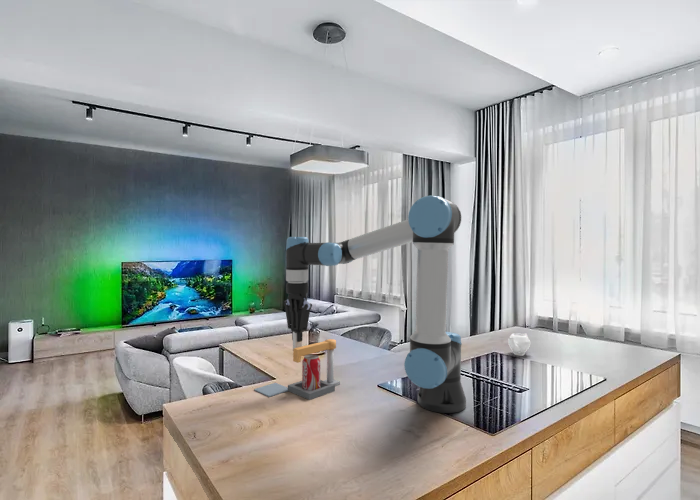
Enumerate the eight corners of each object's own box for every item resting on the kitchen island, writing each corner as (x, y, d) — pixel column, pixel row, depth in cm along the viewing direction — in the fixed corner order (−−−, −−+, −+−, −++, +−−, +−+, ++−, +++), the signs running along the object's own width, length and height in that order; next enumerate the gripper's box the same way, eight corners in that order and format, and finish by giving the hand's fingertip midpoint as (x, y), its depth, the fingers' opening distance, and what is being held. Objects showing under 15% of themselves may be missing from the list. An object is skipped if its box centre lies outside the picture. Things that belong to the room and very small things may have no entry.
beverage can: (317, 395, 137) (317, 359, 137) (299, 393, 139) (299, 358, 138) (322, 388, 144) (322, 354, 143) (305, 387, 145) (305, 353, 144)
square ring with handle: (346, 386, 145) (346, 350, 145) (309, 400, 133) (309, 360, 133) (324, 378, 153) (324, 345, 153) (287, 390, 141) (287, 354, 141)
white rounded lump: (537, 352, 193) (538, 332, 193) (520, 360, 179) (520, 339, 178) (517, 348, 200) (517, 329, 199) (499, 356, 185) (499, 336, 185)
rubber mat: (291, 390, 142) (291, 388, 142) (269, 397, 135) (269, 395, 135) (275, 383, 148) (275, 382, 148) (254, 390, 141) (254, 389, 141)
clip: (338, 352, 147) (338, 340, 147) (299, 363, 134) (299, 349, 134) (330, 350, 150) (330, 338, 150) (291, 360, 137) (291, 347, 137)
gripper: (318, 282, 138) (318, 352, 138) (294, 279, 147) (294, 345, 147) (300, 284, 132) (300, 356, 133) (276, 281, 141) (276, 349, 142)
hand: (297, 350), depth 140 cm, fingers closed
